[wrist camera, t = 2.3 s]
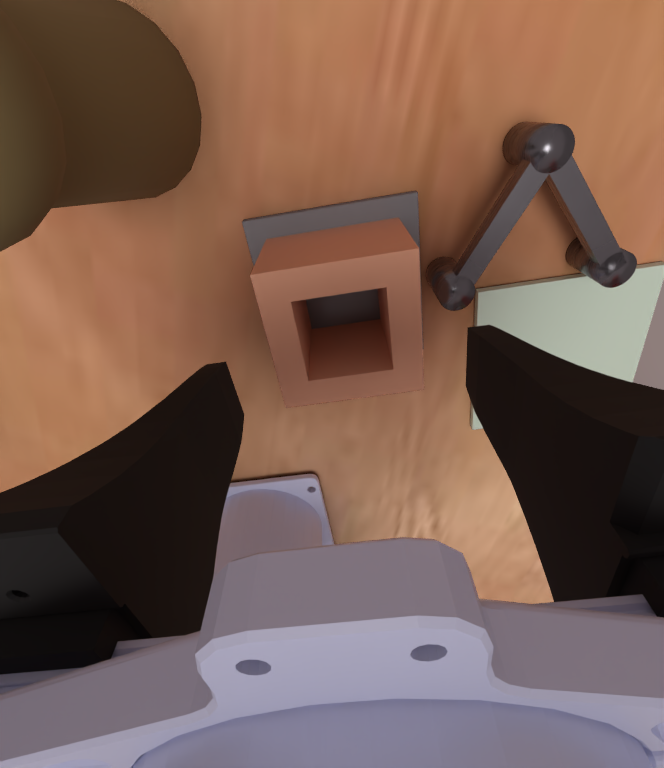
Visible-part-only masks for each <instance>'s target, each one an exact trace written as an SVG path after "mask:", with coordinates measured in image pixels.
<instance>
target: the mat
mask: <svg viewBox="0 0 664 768" xmlns="http://www.w3.org/2000/svg"><path fill="white" fill-rule="evenodd" d="M397 217H399V219H400V220H401V222H402V223H403V225H404V226H405V228H406V229H407V231H408V232H409V234H410V235H411V237H412V238H413V240H414V241H415V243H416V244H417V246H418V247H419V259H420V241H419V213H418V192H417V191H411V192H405V193H399V194H393V195H387V196H381V197H375V198H369V199H364V200H358V201H352V202H346V203H340V204H334V205H328V206H322V207H316V208H310V209H304V210H298V211H292V212H286V213H280V214H274V215H268V216H262V217H256V218H250V219H244V220H243V221H242V223H243V227H244V231H245V235H246V239H247V243H248V246H249V250H250V254H251V258H252V262H253V265H255V263H256V261H257V258H258V256H259V254H260V252H261V250H262V247H263V245H264V243H265V241H266V239H269V238H275V237H281V236H287V235H294V234H300V233H306V232H312V231H318V230H324V229H330V228H336V227H342V226H349V225H355V224H361V223H367V222H373V221H379V220H385V219H391V218H397ZM420 286H421V268H420ZM306 303H307V308H308V313H309V318H310V323H311V328H312V329H316V328H323V327H330V326H337V325H343V324H350V323H357V322H364V321H371V320H378V319H380V309H379V299H378V289H372V290H365V291H359V292H352V293H345V294H339V295H332V296H326V297H319V298H312V299H306ZM421 313H422V296H421ZM422 341H423V324H422Z"/></svg>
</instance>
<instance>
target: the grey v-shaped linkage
mask: <svg viewBox="0 0 664 768" xmlns="http://www.w3.org/2000/svg"><path fill="white" fill-rule="evenodd" d="M574 146H575V138H574V134H573V132H572V130H571V129H570V128H569V127H568V126H566V125H563V124H552V123H537V122H522V123H519V124H517V125H516V126H514V127H513V128H512V129H511V130H510V131H509V132H508V134H507V135H506V137H505V140H504V143H503V154H504V157H505V159H506V160H507V161H508V162H509V163H511V164H513V165H517V166H518V167H517V169H516V170H515V172H514V174H513V175H512V177H511V178H510V180H509V182H508V183H507V185H506V186H505V188H504V189H503V191H502V193H501V194H500V196H499V197H498V199H497V200H496V202H495V204H494V205H493V207H492V208H491V210H490V212H489V213H488V215H487V216H486V218H485V219H484V221H483V223H482V224H481V226H480V227H479V229H478V231H477V232H476V234H475V235H474V237H473V238H472V240H471V242H470V243H469V245H468V246H467V248H466V249H465V251H464V253H463V254H462V256H461V257H460V259H459V261H458V262H457V263H456V262H455V261H454V260H453V259H451V258H449V257H439V258H437V259H435V260H433V261H432V262H431V263H430V265H429V266H428V268H427V271H426V278H427V281H428V283H429V284H430V286H431V288H432V289H433V291H434V293H435V295H436V296H437V298H438V300H439V301H440V303H441V305H442V306H443V307H444V308H446V309H448V310H453V311H455V310H460V309H463V308H465V307H466V306H468V305H469V304H470V303H471V301H472V300H473V298H474V295H475V286H474V284H475V283H476V282H477V280H478V279H479V277H480V276H481V274H482V273H483V271H484V270H485V268H486V267H487V265H488V264H489V262H490V261H491V259H492V258H493V256H494V255H495V253H496V252H497V250H498V249H499V247H500V246H501V245H502V243H503V242H504V240H505V239H506V237H507V236H508V234H509V233H510V231H511V230H512V228H513V227H514V225H515V224H516V222H517V221H518V219H519V218H520V216H521V215H522V213H523V212H524V211H525V209H526V208H527V206H528V205H529V203H530V202H531V200H532V199H533V197H534V196H535V194H536V193H537V191H538V190H539V188H540V187H541V185H542V184H543V182H544V181H546V182H547V184H548V186H549V188H550V189H551V191H552V193H553V195H554V197H555V198H556V200H557V202H558V204H559V205H560V207H561V209H562V211H563V212H564V214H565V216H566V218H567V220H568V221H569V223H570V225H571V227H572V228H573V230H574V232H575V234H576V235H577V237H578V238H576V239H575V240H574V241H573V242H572V243H571V244H570V245H569V247H568V249H567V252H566V260H567V262H568V264H569V265H571V266H572V267H574V268H575V269H577V270H579V271H580V272H582V273H583V274H585V275H586V276H588V277H589V278H591V279H593V280H594V281H596V282H597V283H599V284H600V285H602V286H604V287H607V288H614V287H617V286H620V285H622V284H624V283H625V282H626V281H628V280H629V279H630V278H631V276H632V275H633V274H634V272H635V270H636V266H637V260H636V257H635V256H634V255H633V254H632V253H630V252H628V251H626V250H624V249H622V248H620V247H619V245H618V243H617V242H616V240H615V238H614V236H613V234H612V232H611V230H610V228H609V226H608V224H607V222H606V220H605V218H604V216H603V214H602V213H601V211H600V209H599V207H598V205H597V203H596V201H595V199H594V197H593V195H592V193H591V191H590V189H589V187H588V185H587V184H586V182H585V180H584V178H583V176H582V174H581V172H580V170H579V168H578V166H577V164H576V162H575V160H574V158H573V156H572V153H573V150H574Z"/></svg>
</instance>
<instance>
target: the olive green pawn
mask: <svg viewBox="0 0 664 768" xmlns="http://www.w3.org/2000/svg"><path fill="white" fill-rule="evenodd" d="M200 131H201V112H200V107H199V103H198V98H197V94H196V89H195V85H194V82H193V80H192V78H191V76H190V74H189V72H188V70H187V68H186V66H185V64H184V62H183V60H182V58H181V56H180V54H179V52H178V50H177V49H176V48H175V47H174V45H173V44H172V43H171V42H170V41H169V39H168V38H167V37H166V36H165V35H164V33H163V32H162V31H161V30H160V29H159V28H158V26H157V25H156V24H155V23H154V22H153V21H151V20H150V19H148V18H147V17H145V16H144V15H142V14H141V13H139V12H138V11H137V10H135V9H134V8H132V7H131V6H129V5H128V4H126V3H124V2H121V1H117V0H0V251H2V250H4V249H6V248H8V247H10V246H12V245H14V244H16V243H17V242H19V241H21V240H23V239H25V238H27V237H29V236H31V234H32V233H33V232H34V231H35V229H36V228H37V227H38V225H39V224H40V223H41V222H42V220H43V219H44V217H45V216H46V215H47V213H48V212H49V211H50V209H51V208H59V207H68V206H78V205H87V204H97V203H106V202H116V201H125V200H135V199H144V198H153V197H157V196H159V195H161V194H163V193H165V192H167V191H169V190H171V189H173V188H175V187H176V186H177V185H178V184H179V182H180V181H181V180H182V179H183V178H184V177H185V175H186V174H187V173H188V172H189V171H190V170H191V168H192V165H193V162H194V159H195V157H196V154H197V151H198V149H199V146H200Z"/></svg>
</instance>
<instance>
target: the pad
mask: <svg viewBox="0 0 664 768" xmlns="http://www.w3.org/2000/svg"><path fill="white" fill-rule="evenodd" d="M663 279H664V262H662V261H661V262H654V263H648V264H641V265H637V266H636V270H635V272H634V274H633V275H632V276H631V278H630V279H629V280H628V281H626V282H625V283H624V284H622V285H620V286H617V287H614V288H607V287H604V286H602V285H600V284H599V283H597V282H596V281H594V280H593V279H591V278H589V277H588V276H586V275H585V274H583V273H580V274H574V275H567V276H560V277H553V278H547V279H540V280H533V281H527V282H520V283H513V284H506V285H500V286H493V287H486V288H479V289H476V293H475V318H474V327H476V326H483V325H492V326H494V327H497V328H499V329H501V330H503V331H505V332H507V333H509V334H511V335H513V336H515V337H517V338H519V339H521V340H523V341H525V342H527V343H529V344H531V345H533V346H535V347H537V348H539V349H542V350H544V351H546V352H548V353H550V354H552V355H555V356H557V357H559V358H562V359H564V360H567V361H569V362H571V363H574V364H576V365H579V366H582V367H584V368H587V369H590V370H593V371H596V372H599V373H602V374H605V375H608V376H611V377H615V378H618V379H622V380H625V381H629V382H633V379H634V376H635V373H636V369H637V366H638V363H639V359H640V356H641V352H642V349H643V346H644V343H645V339H646V336H647V333H648V329H649V326H650V323H651V319H652V316H653V313H654V309H655V305H656V303H657V299H658V296H659V293H660V289H661V286H662V283H663ZM470 426H471V428H472V430H475V429H483V427H482V425H481V423H480V421H479V419H478V417H477V415H476V413H475V411H474V408H473V405H472V402H471V417H470Z"/></svg>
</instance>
